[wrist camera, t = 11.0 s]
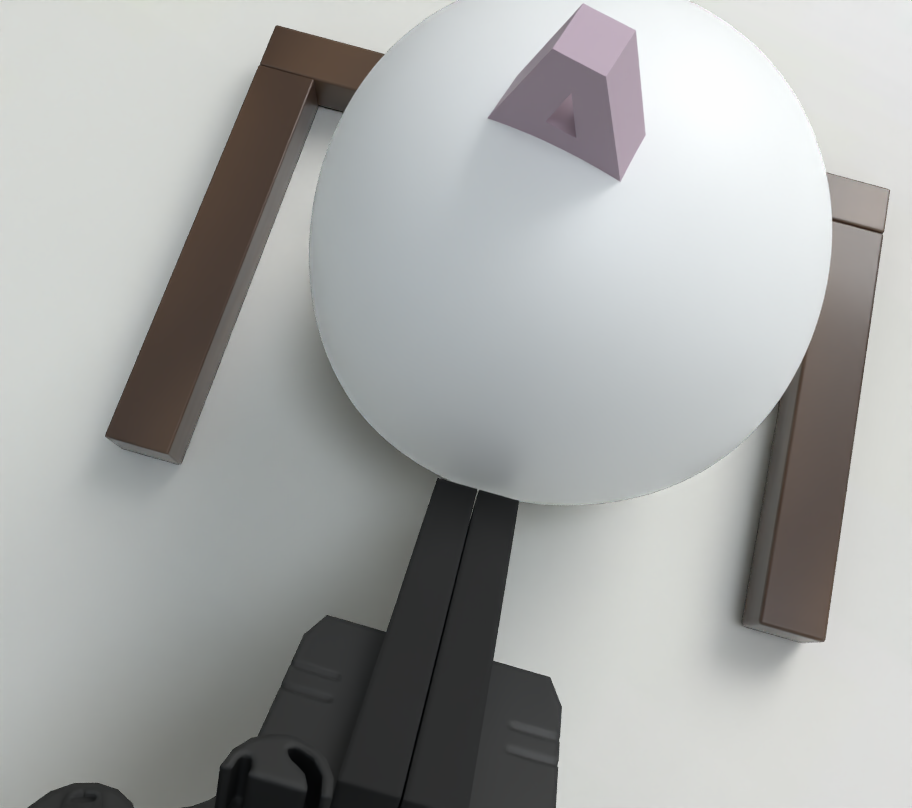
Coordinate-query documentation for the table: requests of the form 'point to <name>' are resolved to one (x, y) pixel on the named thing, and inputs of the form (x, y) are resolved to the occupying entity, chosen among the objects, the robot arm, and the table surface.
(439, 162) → the ornament
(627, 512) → the table surface
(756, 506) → the table surface
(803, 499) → the bay
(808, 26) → the table surface
